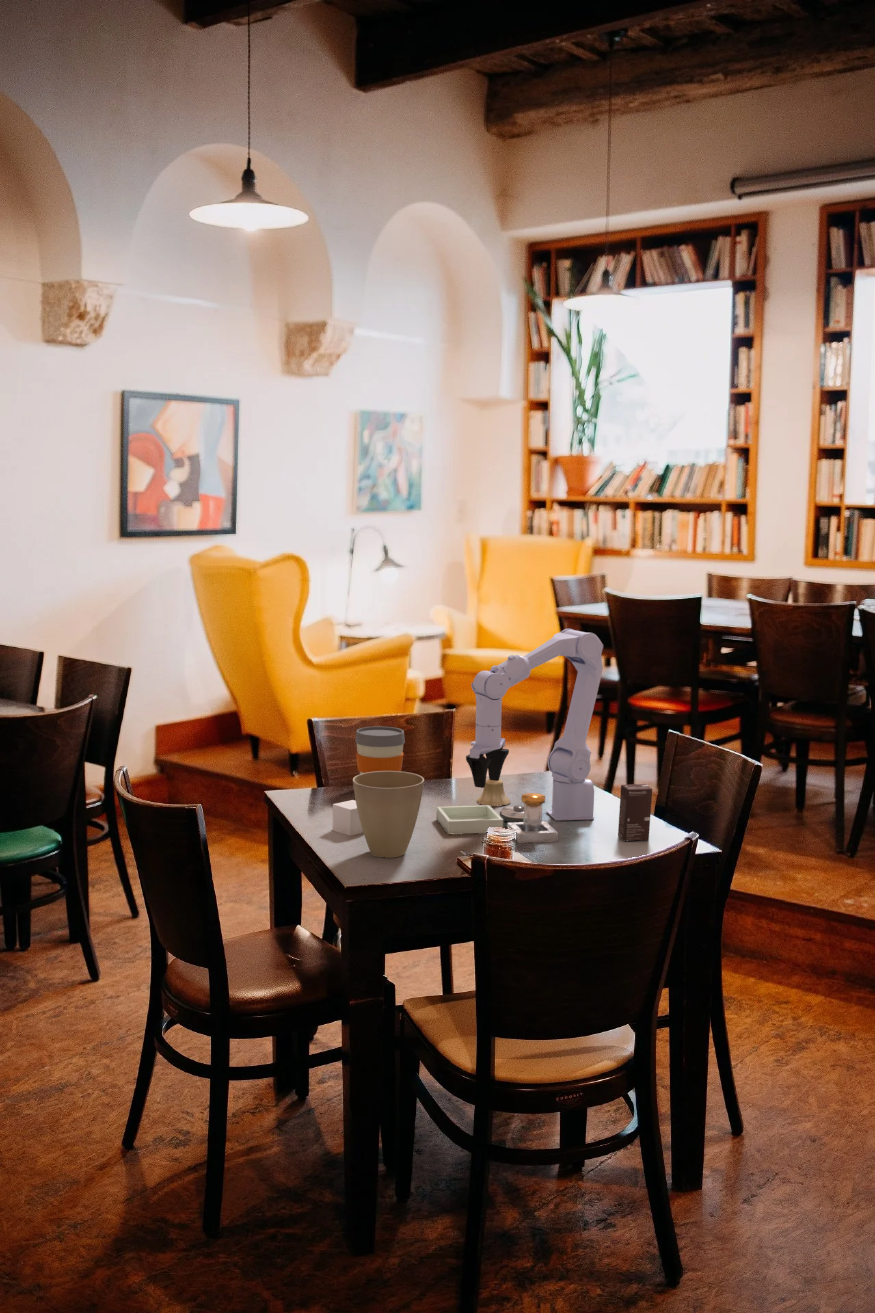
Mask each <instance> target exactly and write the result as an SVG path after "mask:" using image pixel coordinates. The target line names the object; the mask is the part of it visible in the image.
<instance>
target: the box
mask: <svg viewBox="0 0 875 1313" xmlns="http://www.w3.org/2000/svg"><path fill="white" fill-rule="evenodd" d="M619 797H620V798H619V799H620V800H619V813H618V829H617V830H618V831H617V837H618V838H619V839H620V840H621V841H623V842H634V840H640V841H647V840H648V841H649V839H650V825H651V814H652V813H651V812H652V800H653V799H652V798H653V788H652V787H650V786H649V785H648V784H646V783H641V784H638V783H637V784H636V783H635V784H634V783H631V784H620V796H619Z"/></svg>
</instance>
